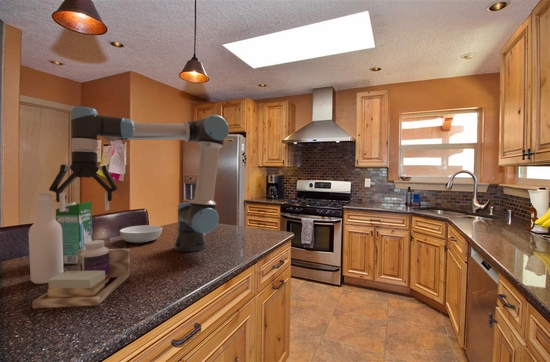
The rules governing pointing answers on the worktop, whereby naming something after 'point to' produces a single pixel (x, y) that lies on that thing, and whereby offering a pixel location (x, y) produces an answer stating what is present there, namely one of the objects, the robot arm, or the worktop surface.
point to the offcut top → (76, 279)
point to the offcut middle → (75, 291)
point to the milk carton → (75, 229)
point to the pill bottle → (95, 258)
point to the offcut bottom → (84, 296)
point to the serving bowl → (141, 233)
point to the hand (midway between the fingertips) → (85, 210)
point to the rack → (117, 268)
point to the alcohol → (45, 243)
